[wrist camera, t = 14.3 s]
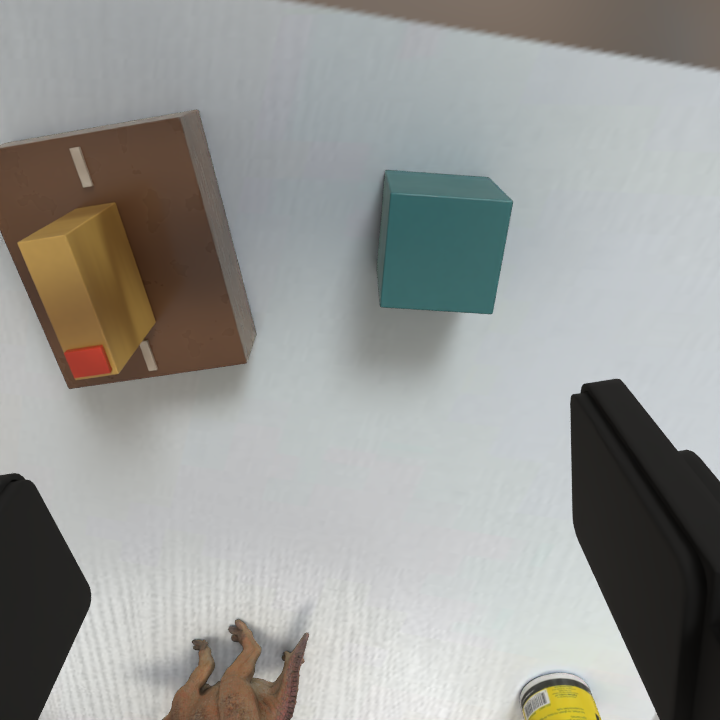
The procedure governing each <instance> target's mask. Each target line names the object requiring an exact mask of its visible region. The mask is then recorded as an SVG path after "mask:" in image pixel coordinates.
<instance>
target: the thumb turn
mask: <svg viewBox="0 0 720 720" xmlns="http://www.w3.org/2000/svg"><path fill="white" fill-rule="evenodd" d="M18 246H19V249H20V251H21V253H22V256H23V258H24V260H25V263H26V265H27V267H28V270H29V272H30V274H31V277H32V279H33V282H34V284H35V286H36V289H37V291H38V293H39V296H40V298H41V300H42V303H43V305H44V307H45V310H46V312H47V315H48V317H49V319H50V322H51V324H52V326H53V329H54V331H55V333H56V336H57V338H58V340H59V343H60V345H61V348H62V350H63V352H64V355H65V357H66V360H67V362H68V365H69V367H70V369H71V372H72V374H73V376H74V378H75V380H81V379H87V378H94V377H101V376H108V375H115V374H119V373H120V371H121V370H122V369H123V367H124V366H125V364H126V363H127V362H128V360H129V359H130V357H131V356H132V355H133V353H134V352H135V351H136V349H137V348H138V346H139V345H140V344H141V342H142V341H143V340H144V338H145V337H146V335H147V334H148V333H149V331H150V330H151V328H152V327H153V326H154V324H155V323H156V321H155V318H154V315H153V312H152V309H151V306H150V303H149V300H148V297H147V294H146V291H145V288H144V285H143V282H142V279H141V277H140V274H139V271H138V268H137V265H136V262H135V259H134V256H133V253H132V250H131V247H130V244H129V241H128V238H127V235H126V232H125V229H124V226H123V223H122V220H121V217H120V214H119V212H118V209H117V206H116V203H115V202H113V203H107V204H101V205H95V206H89V207H83V208H77V209H74V210H73V211H71V212H69V213H67V214H66V215H64V216H62V217H61V218H59V219H57V220H55V221H54V222H52V223H50V224H49V225H47V226H45V227H43V228H42V229H40V230H38V231H36V232H35V233H33V234H31V235H30V236H28V237H26V238H24V239H23V240H21V241H19V242H18Z"/></svg>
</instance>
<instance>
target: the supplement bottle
mask: <svg viewBox="0 0 720 720" xmlns="http://www.w3.org/2000/svg"><path fill="white" fill-rule="evenodd" d="M520 705H521V709H522V713H523V717H524V720H601V718H600V715H599V712H598V710H597V707H596V704H595V701H594V699H593V696H592V694H591V691H590V689H589V687H588V685H587V684H586V683H585V682H584V681H583V680H582V679H581V678H579V677H577V676H575V675H572V674H567V673H553V674H548V675H544V676H541V677H538V678H536V679H534V680H532V681H531V682H529V683H528V684H527V685H526V686H525V687H524V689H523V690H522V692H521V695H520Z"/></svg>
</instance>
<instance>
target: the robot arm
mask: <svg viewBox="0 0 720 720" xmlns="http://www.w3.org/2000/svg"><path fill="white" fill-rule="evenodd" d="M570 408H571V459H572V511H573V524H574V529H575V533H576V536H577V538H578V541H579V543H580V545H581V548H582V550H583V552H584V554H585V556H586V559H587V561H588V563H589V565H590V567H591V570H592V572H593V574H594V576H595V578H596V581H597V583H598V585H599V587H600V589H601V592H602V594H603V596H604V598H605V600H606V603H607V605H608V607H609V609H610V611H611V614H612V616H613V618H614V620H615V622H616V625H617V627H618V629H619V631H620V633H621V636H622V638H623V640H624V642H625V644H626V647H627V649H628V651H629V653H630V655H631V657H632V660H633V662H634V664H635V666H636V668H637V671H638V673H639V675H640V677H641V679H642V682H643V684H644V686H645V688H646V690H647V693H648V695H649V697H650V699H651V701H652V704H653V706H654V708H655V710H656V712H657V715H658V717H659V719H660V720H720V481H719V480H718V479H717V478H716V476H715V475H714V474H713V473H712V472H711V470H710V469H709V468H708V467H707V466H706V464H705V463H704V462H703V461H702V460H701V459H700V458H699V457H698V456H697V455H696V454H695V453H694V452H692V451H689V450H683V451H677V449H676V448H675V447H674V446H673V444H672V443H671V442H670V441H669V439H668V438H667V437H666V436H665V434H664V433H663V432H662V431H661V429H660V428H659V427H658V426H657V424H656V423H655V422H654V421H653V419H652V418H651V417H650V416H649V414H648V413H647V412H646V410H645V409H644V408H643V407H642V405H641V404H640V403H639V402H638V400H637V399H636V398H635V397H634V395H633V394H632V393H631V392H630V390H629V389H628V388H627V387H626V385H625V384H624V383H623V382H622V381H621V380H620V379H612V380H606V381H599V382H593V383H586V384H583V385H582V388H581V393H579V394H573V395H572V396H571V402H570ZM90 603H91V590H90V587H89V584H88V583H87V581H86V579H85V577H84V575H83V573H82V571H81V570H80V568H79V566H78V564H77V562H76V560H75V558H74V557H73V555H72V553H71V551H70V549H69V547H68V545H67V544H66V542H65V540H64V538H63V536H62V534H61V532H60V531H59V529H58V527H57V525H56V523H55V521H54V519H53V518H52V516H51V514H50V512H49V510H48V508H47V506H46V505H45V503H44V501H43V499H42V497H41V495H40V493H39V492H38V490H37V488H36V486H35V485H34V483H33V482H31V481H30V480H25V478H24V477H23V476H21V475H20V474H16V473H12V474H6V475H0V720H38V719H39V716H40V714H41V712H42V710H43V708H44V706H45V703H46V701H47V699H48V697H49V695H50V692H51V690H52V688H53V686H54V684H55V681H56V679H57V677H58V675H59V673H60V671H61V668H62V666H63V664H64V662H65V660H66V657H67V655H68V653H69V651H70V649H71V647H72V644H73V642H74V640H75V638H76V636H77V633H78V631H79V629H80V627H81V625H82V623H83V620H84V618H85V616H86V614H87V612H88V609H89V607H90Z"/></svg>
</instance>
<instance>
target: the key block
mask: <svg viewBox="0 0 720 720" xmlns="http://www.w3.org/2000/svg"><path fill="white" fill-rule="evenodd" d="M512 205H513V201H512V200H511V199H510V198H509V197H508V196H507V195H506V194H505V193H504V192H503V191H502V190H501V189H500V188H499V187H498V186H497V185H496V184H495V183H494V182H493V181H492V180H491V179H490V178H489V177H476V176H462V175H448V174H434V173H420V172H406V171H392V170H386V171H385V178H384V190H383V201H382V213H381V224H380V236H379V247H378V259H377V279H378V290H379V302H380V307H385V308H401V309H417V310H432V311H448V312H464V313H480V314H492V313H493V309H494V303H495V298H496V292H497V287H498V281H499V276H500V271H501V265H502V260H503V254H504V249H505V243H506V238H507V232H508V227H509V221H510V216H511V210H512Z"/></svg>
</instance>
